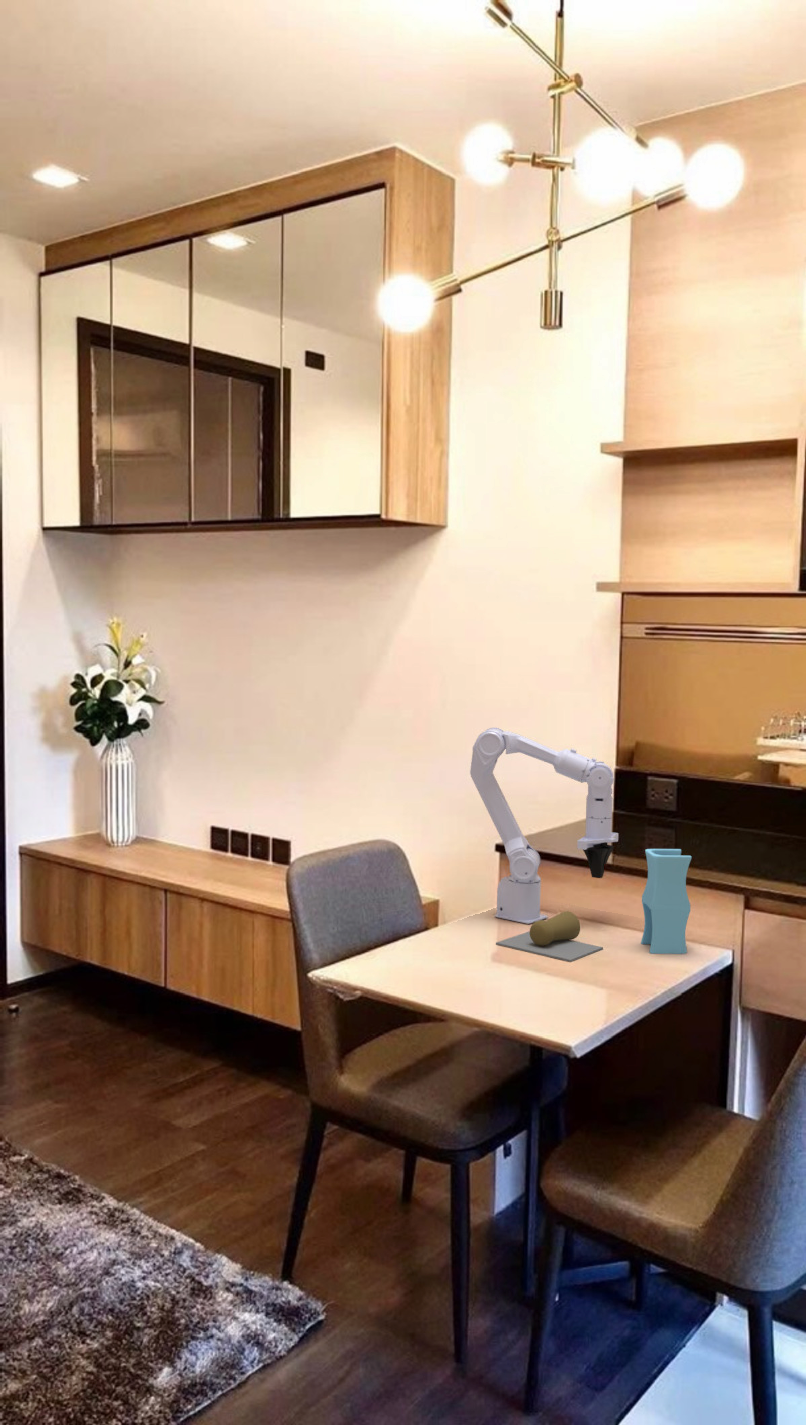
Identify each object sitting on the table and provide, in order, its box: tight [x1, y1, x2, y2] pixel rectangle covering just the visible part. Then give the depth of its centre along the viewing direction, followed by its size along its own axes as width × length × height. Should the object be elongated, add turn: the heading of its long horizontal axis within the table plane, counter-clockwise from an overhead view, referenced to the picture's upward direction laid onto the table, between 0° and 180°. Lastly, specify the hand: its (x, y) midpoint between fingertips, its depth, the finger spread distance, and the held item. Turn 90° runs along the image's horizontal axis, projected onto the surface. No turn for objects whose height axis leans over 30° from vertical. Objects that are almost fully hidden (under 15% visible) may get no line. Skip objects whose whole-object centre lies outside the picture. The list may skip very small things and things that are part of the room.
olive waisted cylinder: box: [529, 910, 581, 946], centre depth 226 cm, size 6×6×11 cm
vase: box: [640, 848, 692, 955], centre depth 224 cm, size 8×8×20 cm
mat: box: [495, 930, 604, 963], centre depth 224 cm, size 18×12×1 cm
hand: (597, 877), depth 244 cm, fingers closed
